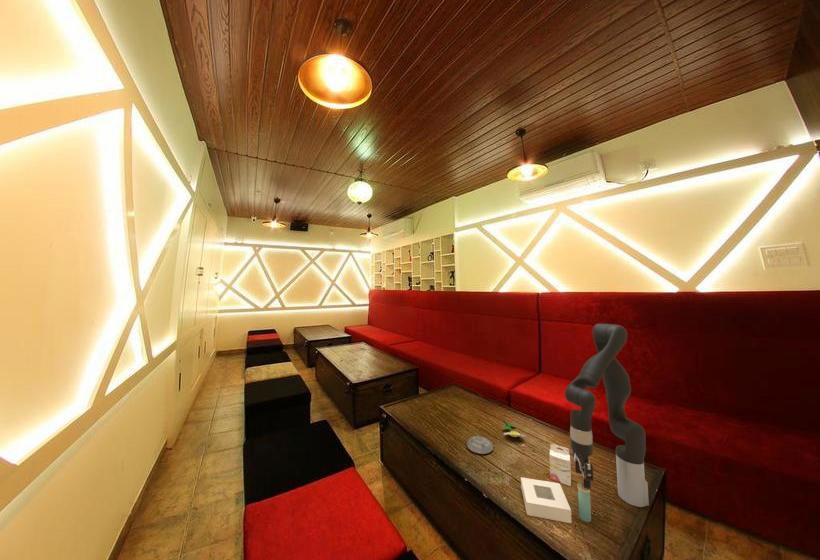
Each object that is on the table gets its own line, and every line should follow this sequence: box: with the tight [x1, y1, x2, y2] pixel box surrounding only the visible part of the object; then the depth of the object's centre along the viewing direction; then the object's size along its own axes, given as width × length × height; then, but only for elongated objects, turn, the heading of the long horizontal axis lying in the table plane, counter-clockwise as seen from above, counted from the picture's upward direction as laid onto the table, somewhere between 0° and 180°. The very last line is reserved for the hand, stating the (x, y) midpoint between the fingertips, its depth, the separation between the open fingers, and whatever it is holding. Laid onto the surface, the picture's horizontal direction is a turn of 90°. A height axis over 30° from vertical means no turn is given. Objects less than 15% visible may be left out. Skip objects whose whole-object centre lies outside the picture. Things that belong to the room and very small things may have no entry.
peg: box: [576, 482, 592, 523], centre depth 101 cm, size 4×4×12 cm
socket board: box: [520, 476, 572, 524], centre depth 107 cm, size 16×14×5 cm
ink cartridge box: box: [549, 443, 572, 487], centre depth 121 cm, size 9×5×15 cm, turn 58°
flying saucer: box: [466, 435, 494, 455], centre depth 147 cm, size 15×15×6 cm
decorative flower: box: [502, 418, 527, 439], centre depth 162 cm, size 13×5×30 cm
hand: (582, 479), depth 101 cm, fingers open, 8 cm apart
